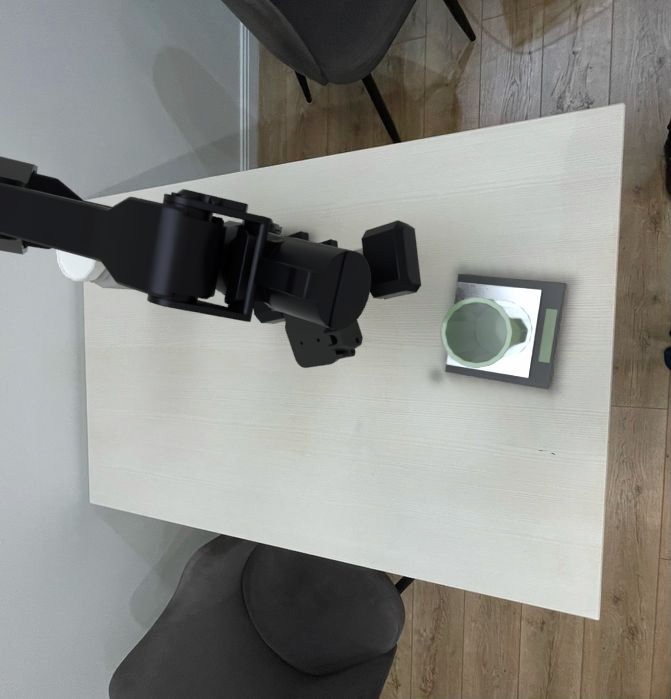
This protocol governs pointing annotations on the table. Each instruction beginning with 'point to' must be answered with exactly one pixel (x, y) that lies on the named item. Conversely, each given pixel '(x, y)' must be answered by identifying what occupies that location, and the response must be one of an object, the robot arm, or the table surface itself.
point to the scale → (544, 316)
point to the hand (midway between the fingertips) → (375, 285)
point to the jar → (86, 270)
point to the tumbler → (484, 331)
